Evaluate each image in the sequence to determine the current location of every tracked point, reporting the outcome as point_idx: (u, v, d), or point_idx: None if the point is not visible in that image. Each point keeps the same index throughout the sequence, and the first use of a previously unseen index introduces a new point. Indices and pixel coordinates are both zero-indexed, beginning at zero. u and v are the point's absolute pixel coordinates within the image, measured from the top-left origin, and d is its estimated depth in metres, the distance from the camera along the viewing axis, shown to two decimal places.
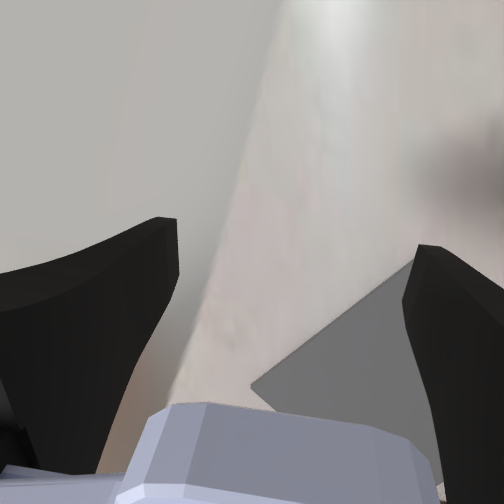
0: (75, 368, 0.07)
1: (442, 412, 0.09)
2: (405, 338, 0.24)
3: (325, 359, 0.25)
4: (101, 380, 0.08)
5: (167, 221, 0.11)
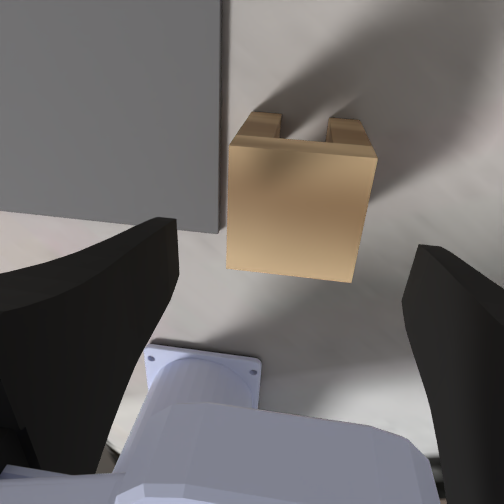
0: (75, 368, 0.07)
1: (442, 412, 0.09)
2: None
3: None
4: (101, 380, 0.08)
5: (167, 221, 0.11)
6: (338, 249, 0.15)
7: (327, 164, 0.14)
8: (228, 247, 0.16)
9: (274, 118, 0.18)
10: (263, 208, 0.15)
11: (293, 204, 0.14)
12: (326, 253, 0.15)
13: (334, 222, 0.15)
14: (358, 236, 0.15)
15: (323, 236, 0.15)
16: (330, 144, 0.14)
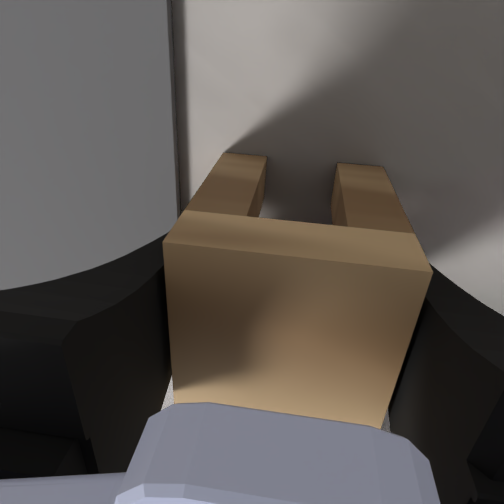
0: (129, 376, 0.07)
1: (395, 405, 0.09)
2: None
3: None
4: (148, 387, 0.08)
5: None
6: (356, 400, 0.09)
7: (340, 278, 0.07)
8: (175, 387, 0.10)
9: (255, 167, 0.12)
10: (229, 338, 0.09)
11: (279, 334, 0.08)
12: (335, 404, 0.09)
13: (350, 364, 0.09)
14: (390, 384, 0.09)
15: (331, 381, 0.09)
16: (343, 231, 0.08)
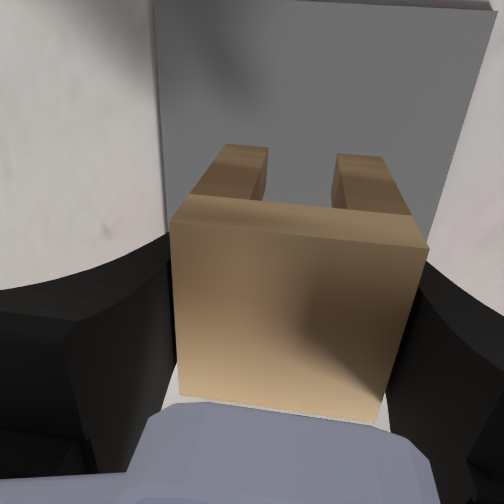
0: (129, 376, 0.07)
1: (395, 405, 0.09)
2: None
3: None
4: (148, 387, 0.08)
5: None
6: (355, 378, 0.09)
7: (340, 256, 0.08)
8: (180, 368, 0.10)
9: (256, 156, 0.12)
10: (233, 317, 0.09)
11: (281, 313, 0.09)
12: (336, 383, 0.09)
13: (349, 342, 0.09)
14: (389, 362, 0.09)
15: (332, 359, 0.09)
16: (343, 213, 0.09)
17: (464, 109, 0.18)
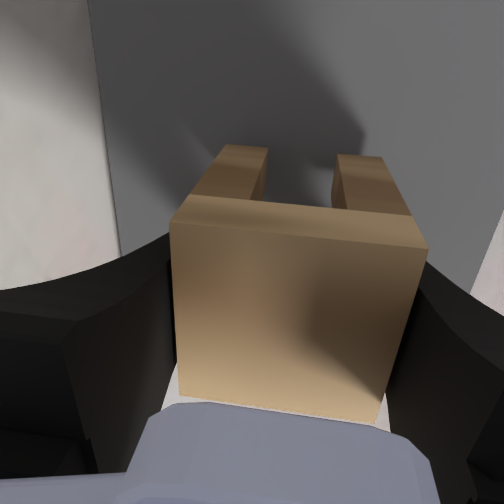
0: (129, 376, 0.07)
1: (395, 405, 0.09)
2: None
3: None
4: (147, 387, 0.08)
5: None
6: (355, 379, 0.09)
7: (340, 256, 0.08)
8: (180, 368, 0.10)
9: (256, 156, 0.12)
10: (233, 317, 0.09)
11: (281, 313, 0.09)
12: (336, 383, 0.09)
13: (349, 342, 0.09)
14: (389, 362, 0.09)
15: (332, 360, 0.09)
16: (343, 213, 0.09)
17: None
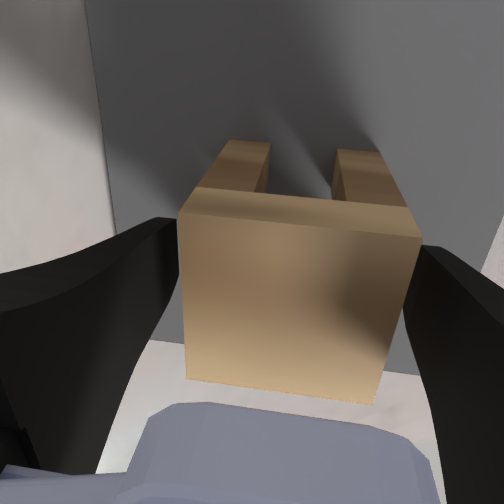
0: (75, 368, 0.07)
1: (442, 412, 0.09)
2: None
3: None
4: (101, 380, 0.08)
5: (167, 221, 0.11)
6: (354, 362, 0.10)
7: (339, 244, 0.08)
8: (187, 352, 0.10)
9: (259, 151, 0.12)
10: (237, 303, 0.09)
11: (283, 299, 0.09)
12: (335, 366, 0.10)
13: (348, 327, 0.09)
14: (385, 346, 0.09)
15: (331, 344, 0.10)
16: (342, 205, 0.09)
17: None
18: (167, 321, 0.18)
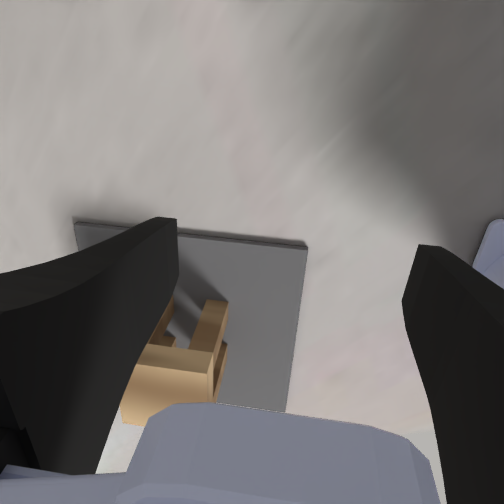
0: (75, 368, 0.07)
1: (442, 412, 0.09)
2: None
3: None
4: (101, 380, 0.08)
5: (167, 221, 0.11)
6: None
7: (176, 374, 0.20)
8: (121, 412, 0.23)
9: None
10: (140, 393, 0.22)
11: (159, 392, 0.21)
12: None
13: None
14: None
15: None
16: (184, 352, 0.21)
17: (298, 302, 0.25)
18: None
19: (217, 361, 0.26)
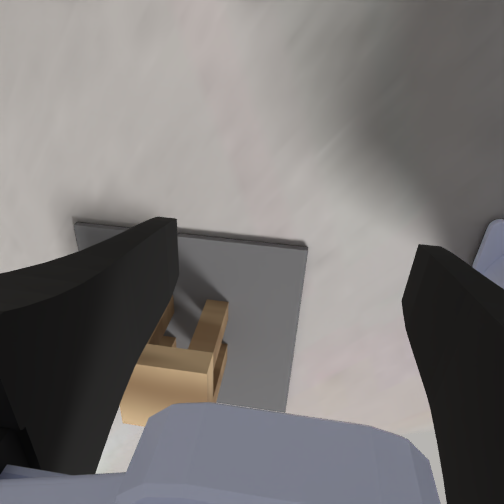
0: (75, 368, 0.07)
1: (442, 412, 0.09)
2: None
3: None
4: (101, 380, 0.08)
5: (167, 221, 0.11)
6: None
7: (176, 374, 0.20)
8: (121, 412, 0.23)
9: None
10: (140, 393, 0.22)
11: (159, 392, 0.21)
12: None
13: None
14: None
15: None
16: (184, 352, 0.21)
17: (298, 302, 0.25)
18: None
19: (217, 361, 0.26)
